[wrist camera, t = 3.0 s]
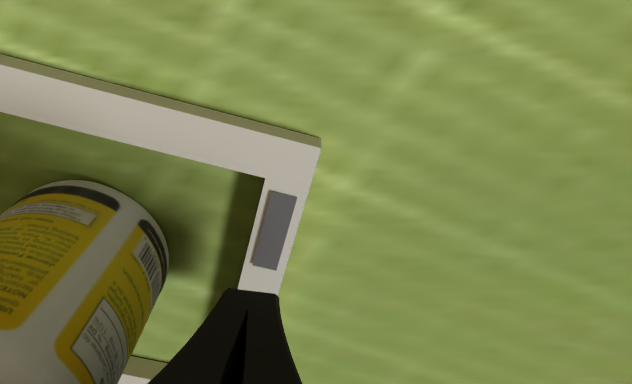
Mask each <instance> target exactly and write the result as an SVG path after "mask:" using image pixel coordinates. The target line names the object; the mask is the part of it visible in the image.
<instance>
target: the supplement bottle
mask: <svg viewBox="0 0 632 384" xmlns="http://www.w3.org/2000/svg"><path fill="white" fill-rule="evenodd" d="M168 268H169V253H168V247H167V243H166V240H165V238H164V235H163V233H162V231H161V229H160V227H159V226H158V224H157V223H156V221H155V220H154V219H153V217H152V216H151V215H150V214H149V213H148V212H147V211H146V210H145V209H144V208H143V207H142V206H141V205H139V204H138V203H137V202H135V201H134V200H133V199H131V198H129V197H128V196H126V195H124V194H123V193H121V192H119V191H117V190H115V189H112V188H110V187H108V186H105V185H102V184H99V183H95V182H91V181H83V180H65V181H57V182H53V183H49V184H46V185H43V186H41V187H39V188H37V189H35V190H33V191H31V192H30V193H28V194H27V195H25V196H24V197H22V198H21V199H20V200H18V201H17V202H16V203H14V204H13V205H12V206H11V207H10V208H8V209H7V210H6V211H4V212H3V213H2V214H1V215H0V384H118V382H119V380H120V378H121V375H122V373H123V371H124V369H125V367H126V365H127V363H128V361H129V359H130V356H131V354H132V352H133V350H134V348H135V346H136V344H137V341H138V339H139V337H140V335H141V333H142V331H143V329H144V326H145V324H146V322H147V320H148V318H149V316H150V314H151V311H152V309H153V307H154V305H155V303H156V300H157V298H158V296H159V294H160V292H161V290H162V288H163V285H164V283H165V280H166V277H167V273H168Z"/></svg>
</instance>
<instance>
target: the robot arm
mask: <svg viewBox="0 0 632 384" xmlns="http://www.w3.org/2000/svg"><path fill="white" fill-rule="evenodd" d="M147 384H302V382H301V379H300V377H299V374H298V372H297V369H296V367H295V364H294V361H293V358H292V356H291V352H290V349H289V346H288V343H287V340H286V336H285V333H284V329H283V324H282V320H281V315H280V307H279V297H278V296H277V295H276V294H273V293H265V292H256V291H248V290H240V289H231V288H228V289H227V290H225V291H224V292H223V294H222V296H221V298H220V299H219V301H218V303H217V304H216V306H215V307H214V309H213V310H212V311H211V313H210V314H209V316H208V317H207V318H206V320H205V321H204V322H203V324H202V325H201V326H200V327H199V329H198V330H197V331H196V332H195V333H194V335H193V336H192V337H191V338H190V340H189V341H188V342H187V343H186V344H185V345H184V346H183V348H182V349H181V350H180V351H179V352H178V353H177V354H176V355H175V356H174V357H173V358H172V359H171V361H170V362H169V363H168V364H167V365H166V366H165V367H164V368H163V369H162V370H161V371H160V372H159V373H158V374H157V375H156V376H155V377H154V378H153V379H152V380H150V381H149V382H148V383H147Z"/></svg>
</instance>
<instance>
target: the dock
mask: <svg viewBox="0 0 632 384" xmlns="http://www.w3.org/2000/svg"><path fill="white" fill-rule="evenodd" d="M0 112H3V113H7V114H11V115H15V116H19V117H23V118H27V119H31V120H35V121H39V122H43V123H47V124H51V125H55V126H59V127H63V128H67V129H71V130H75V131H79V132H83V133H87V134H91V135H95V136H99V137H103V138H107V139H111V140H115V141H119V142H123V143H127V144H131V145H135V146H139V147H143V148H147V149H151V150H155V151H159V152H163V153H167V154H171V155H175V156H179V157H183V158H187V159H191V160H195V161H198V162H202V163H206V164H210V165H214V166H218V167H222V168H226V169H230V170H234V171H238V172H242V173H246V174H250V175H254V176H258V177H262V178H265V181H264V185H263V189H262V193H261V197H260V201H259V205H258V209H257V213H256V217H255V221H254V225H253V229H252V233H251V237H250V241H249V245H248V249H247V253H246V257H245V261H244V265H243V269H242V273H241V277H240V281H239V285H238V289H240V290H248V291H256V292H265V293H273V294H276V295H277V296H278V293H279V289H280V286H281V283H282V279H283V276H284V272H285V269H286V266H287V262H288V259H289V256H290V252H291V249H292V245H293V242H294V239H295V235H296V232H297V229H298V225H299V222H300V218H301V215H302V212H303V208H304V205H305V202H306V198H307V195H308V191H309V188H310V185H311V181H312V178H313V175H314V171H315V168H316V164H317V161H318V158H319V154H320V151H321V138H318V137H314V136H310V135H306V134H302V133H299V132H295V131H291V130H287V129H283V128H280V127H276V126H272V125H268V124H264V123H261V122H257V121H253V120H249V119H245V118H242V117H238V116H234V115H230V114H226V113H223V112H219V111H215V110H211V109H207V108H204V107H200V106H196V105H192V104H189V103H185V102H181V101H177V100H173V99H170V98H166V97H162V96H158V95H154V94H151V93H147V92H143V91H139V90H135V89H132V88H128V87H124V86H120V85H116V84H113V83H109V82H105V81H101V80H97V79H94V78H90V77H86V76H82V75H78V74H75V73H71V72H67V71H63V70H59V69H56V68H52V67H48V66H44V65H40V64H37V63H33V62H29V61H25V60H22V59H18V58H14V57H10V56H6V55H3V54H0ZM167 364H168V363H163V362H158V361H153V360H148V359H143V358H138V357H133V356H130V359H129V361H128V363H127V365H126V367H125V369H124V371H123V373H122V375H121V378H120V380H119V382H118V384H147V383H148V382H149V381H150V380H152V379H153V378H154V377H155V376H156V375H157V374H158V373H159V372H160V371H161V370H162V369H163V368H164V367H165V366H166V365H167Z"/></svg>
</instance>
